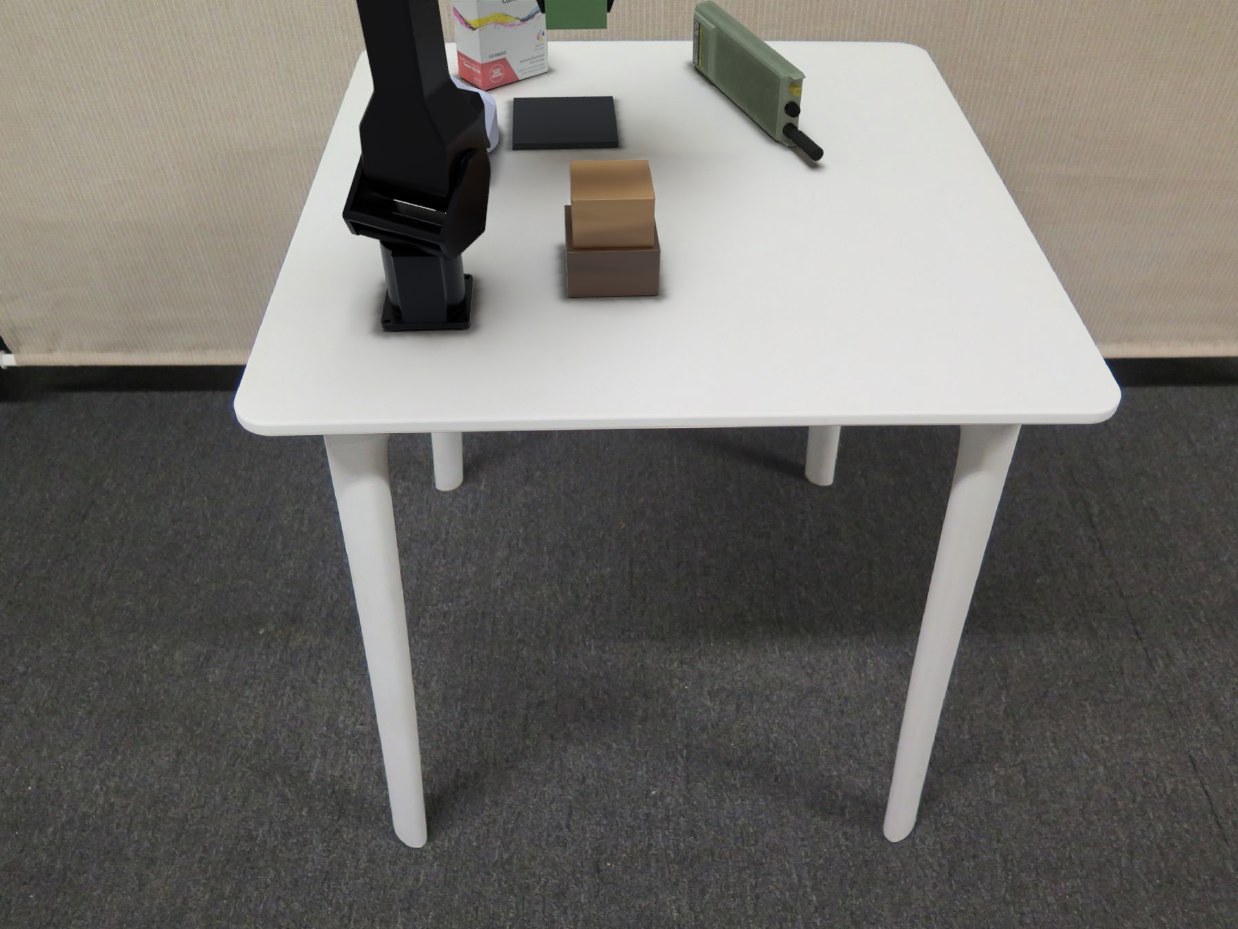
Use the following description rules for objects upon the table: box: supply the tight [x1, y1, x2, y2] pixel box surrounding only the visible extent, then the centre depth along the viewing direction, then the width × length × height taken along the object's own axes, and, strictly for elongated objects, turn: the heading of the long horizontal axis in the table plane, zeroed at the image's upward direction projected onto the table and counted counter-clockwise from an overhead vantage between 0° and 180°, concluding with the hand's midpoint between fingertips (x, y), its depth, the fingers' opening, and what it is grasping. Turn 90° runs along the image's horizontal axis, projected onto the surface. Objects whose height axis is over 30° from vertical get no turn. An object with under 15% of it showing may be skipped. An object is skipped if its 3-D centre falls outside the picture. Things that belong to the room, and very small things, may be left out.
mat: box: [511, 95, 620, 150], centre depth 99 cm, size 10×10×1 cm
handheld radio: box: [692, 0, 825, 162], centre depth 99 cm, size 7×3×25 cm
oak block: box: [569, 158, 656, 248], centre depth 76 cm, size 6×6×4 cm
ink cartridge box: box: [451, 0, 549, 91], centre depth 102 cm, size 9×5×15 cm, turn 130°
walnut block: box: [563, 204, 661, 298], centre depth 79 cm, size 7×7×4 cm
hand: (575, 11), depth 84 cm, fingers closed on green block, 5 cm apart
